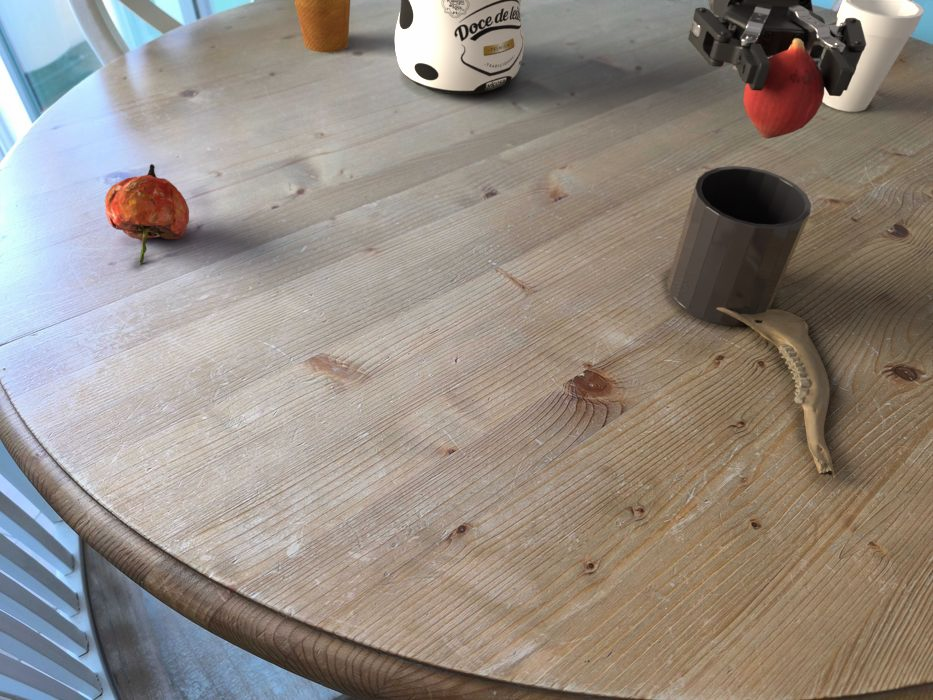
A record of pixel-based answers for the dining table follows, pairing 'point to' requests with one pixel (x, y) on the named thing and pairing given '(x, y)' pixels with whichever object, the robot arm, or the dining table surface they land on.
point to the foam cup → (875, 46)
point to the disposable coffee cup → (324, 24)
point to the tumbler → (736, 243)
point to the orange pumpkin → (147, 208)
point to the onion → (786, 93)
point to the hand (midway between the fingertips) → (801, 81)
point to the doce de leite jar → (460, 43)
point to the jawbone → (799, 373)
